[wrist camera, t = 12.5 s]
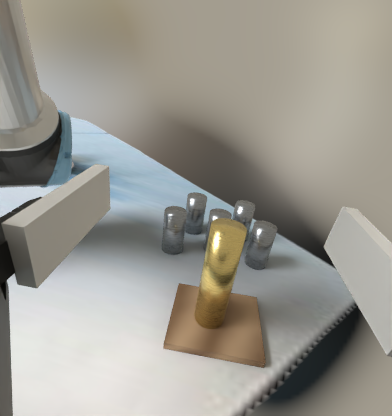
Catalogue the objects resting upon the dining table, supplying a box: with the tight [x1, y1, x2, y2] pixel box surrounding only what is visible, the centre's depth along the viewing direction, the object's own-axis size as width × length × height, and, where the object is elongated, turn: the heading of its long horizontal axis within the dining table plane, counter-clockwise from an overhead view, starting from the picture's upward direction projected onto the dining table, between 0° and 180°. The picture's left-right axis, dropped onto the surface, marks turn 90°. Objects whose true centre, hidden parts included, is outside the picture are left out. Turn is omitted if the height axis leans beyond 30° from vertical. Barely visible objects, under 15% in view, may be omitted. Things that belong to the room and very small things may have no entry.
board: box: [163, 283, 266, 368], centre depth 34 cm, size 12×10×1 cm
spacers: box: [162, 193, 277, 270], centre depth 49 cm, size 20×12×8 cm, turn 83°
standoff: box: [194, 218, 247, 329], centre depth 30 cm, size 4×4×14 cm
